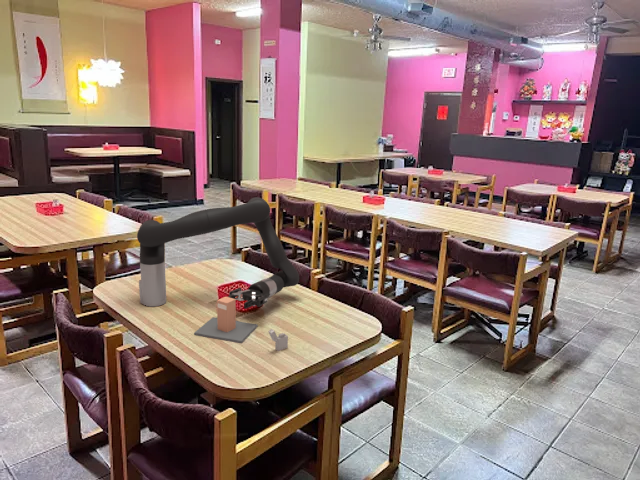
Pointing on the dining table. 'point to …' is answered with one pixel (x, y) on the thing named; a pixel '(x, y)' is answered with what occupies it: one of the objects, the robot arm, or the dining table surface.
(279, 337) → the lighter
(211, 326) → the mat
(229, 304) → the block
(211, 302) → the dining table surface
